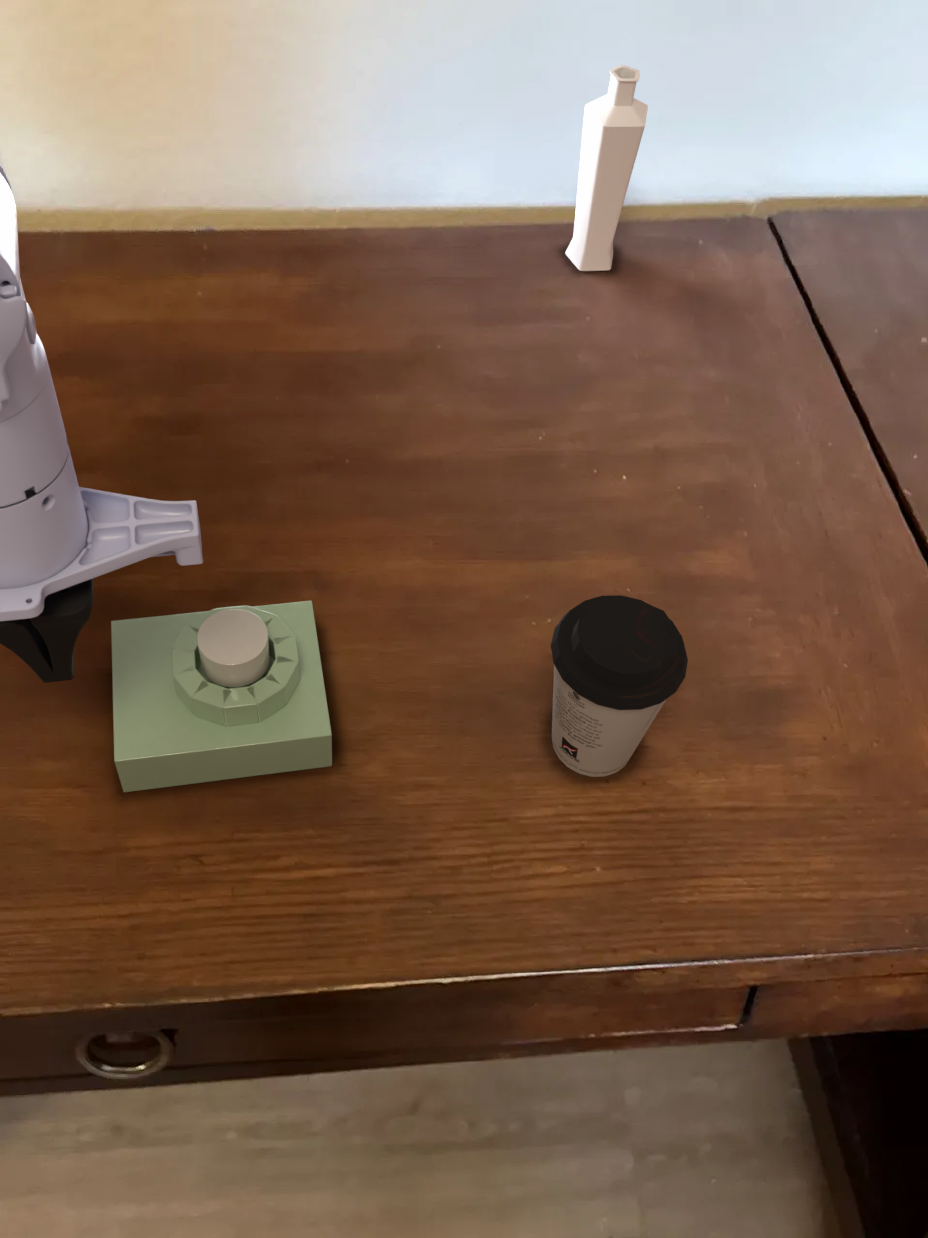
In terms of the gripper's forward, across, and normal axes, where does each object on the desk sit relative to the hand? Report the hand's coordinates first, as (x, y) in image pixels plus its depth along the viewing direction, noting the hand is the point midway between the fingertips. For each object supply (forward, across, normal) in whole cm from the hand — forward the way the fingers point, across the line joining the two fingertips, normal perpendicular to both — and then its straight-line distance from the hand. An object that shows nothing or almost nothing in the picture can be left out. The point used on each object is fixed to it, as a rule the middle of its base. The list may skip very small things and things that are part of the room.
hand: (58, 664), depth 56 cm
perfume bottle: (+10, +38, +41) cm, 57 cm away
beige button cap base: (+10, +7, +3) cm, 12 cm away
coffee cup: (+10, +27, -2) cm, 29 cm away
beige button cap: (+5, +8, +3) cm, 10 cm away
